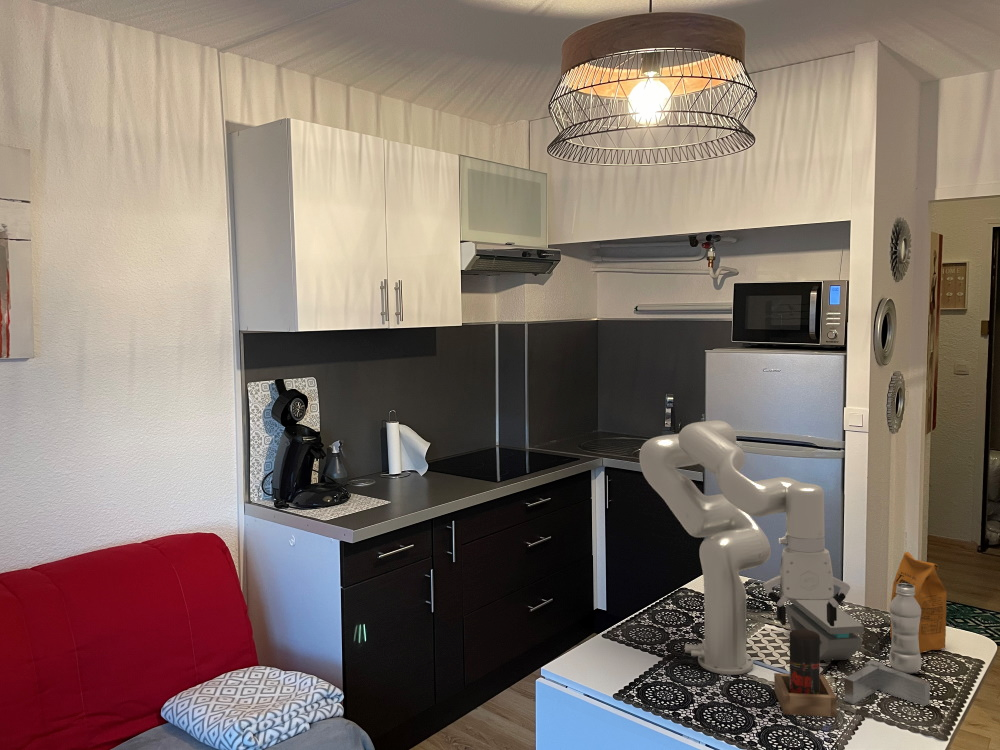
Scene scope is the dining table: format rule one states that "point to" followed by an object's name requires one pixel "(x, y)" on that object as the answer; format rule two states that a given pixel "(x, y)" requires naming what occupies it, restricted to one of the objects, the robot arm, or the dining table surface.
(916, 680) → the v block
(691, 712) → the dining table surface
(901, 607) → the plastic bottle
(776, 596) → the robot arm
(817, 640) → the deodorant
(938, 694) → the dining table surface
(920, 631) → the coffee package
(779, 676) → the block
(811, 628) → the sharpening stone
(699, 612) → the dining table surface
